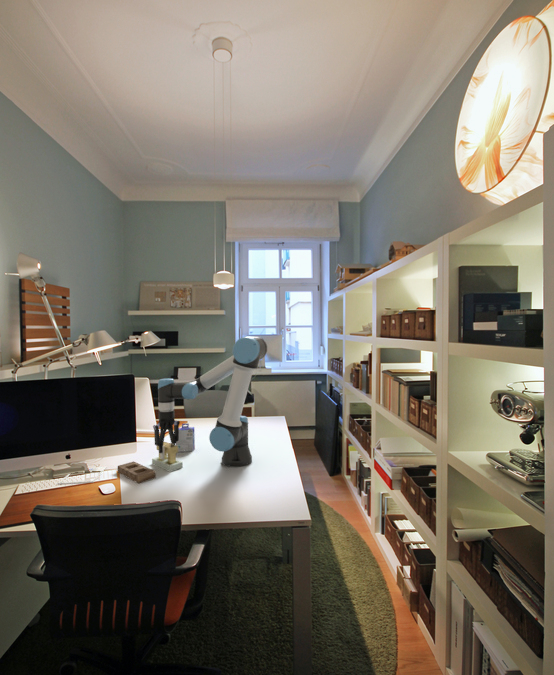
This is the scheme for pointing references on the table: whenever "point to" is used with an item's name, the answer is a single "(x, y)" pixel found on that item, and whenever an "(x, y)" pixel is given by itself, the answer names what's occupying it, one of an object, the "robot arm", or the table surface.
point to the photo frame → (85, 481)
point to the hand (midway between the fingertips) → (167, 457)
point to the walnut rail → (136, 472)
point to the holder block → (165, 464)
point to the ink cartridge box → (186, 438)
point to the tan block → (169, 452)
